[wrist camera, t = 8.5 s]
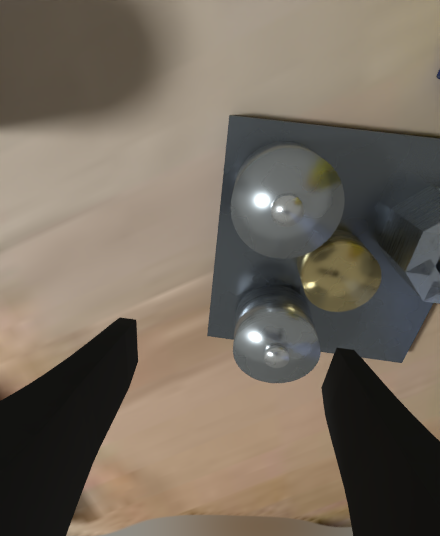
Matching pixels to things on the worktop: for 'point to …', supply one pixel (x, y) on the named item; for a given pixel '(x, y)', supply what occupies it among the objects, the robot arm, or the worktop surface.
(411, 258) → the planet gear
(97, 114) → the worktop surface
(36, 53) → the worktop surface
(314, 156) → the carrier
